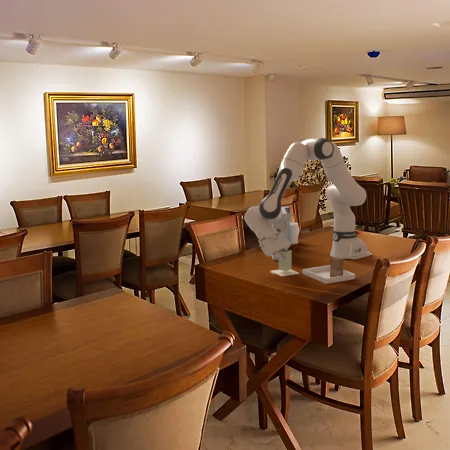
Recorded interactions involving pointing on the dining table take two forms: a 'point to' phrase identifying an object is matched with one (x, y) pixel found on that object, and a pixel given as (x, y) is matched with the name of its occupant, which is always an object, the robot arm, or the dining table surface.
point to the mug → (294, 232)
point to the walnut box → (336, 266)
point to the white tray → (327, 274)
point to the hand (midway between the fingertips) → (286, 258)
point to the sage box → (285, 260)
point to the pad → (284, 272)
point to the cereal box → (281, 226)
